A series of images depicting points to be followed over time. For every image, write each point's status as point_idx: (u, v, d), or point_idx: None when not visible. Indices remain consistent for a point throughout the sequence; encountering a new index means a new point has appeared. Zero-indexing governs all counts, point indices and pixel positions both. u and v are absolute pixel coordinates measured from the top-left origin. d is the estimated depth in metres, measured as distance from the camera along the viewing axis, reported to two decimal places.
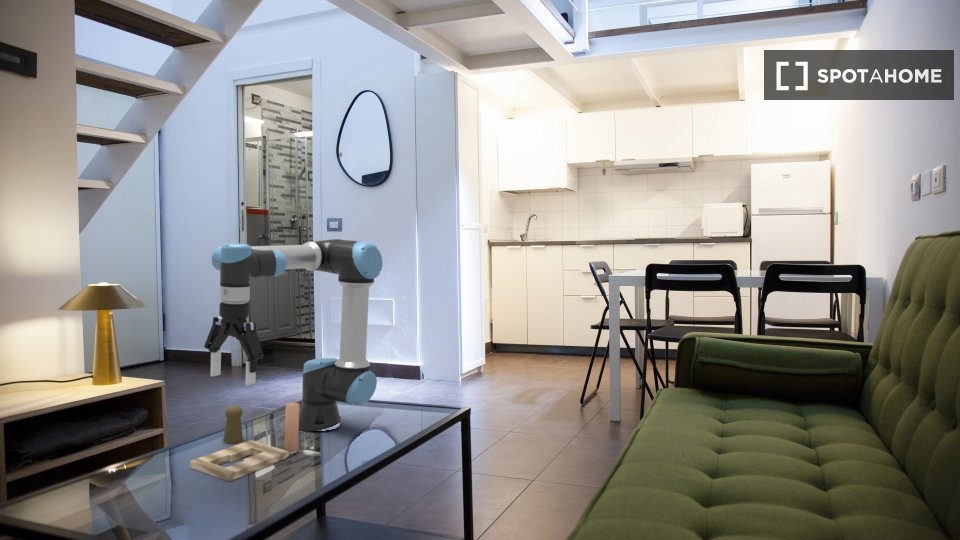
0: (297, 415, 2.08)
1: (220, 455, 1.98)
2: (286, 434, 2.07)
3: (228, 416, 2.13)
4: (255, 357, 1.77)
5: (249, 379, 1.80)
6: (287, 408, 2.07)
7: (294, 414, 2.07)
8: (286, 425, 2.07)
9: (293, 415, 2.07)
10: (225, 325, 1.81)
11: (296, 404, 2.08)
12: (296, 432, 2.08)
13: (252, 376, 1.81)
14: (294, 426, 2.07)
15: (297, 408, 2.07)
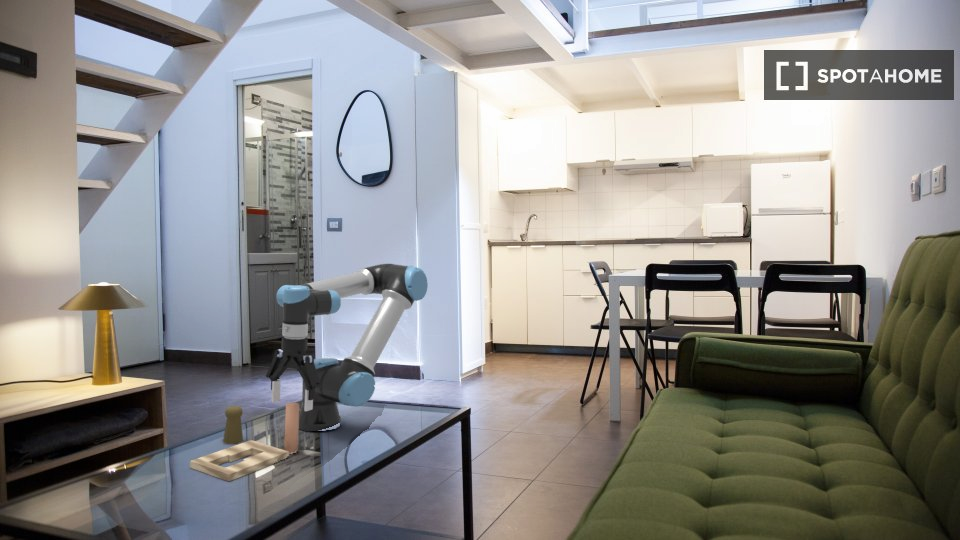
0: (297, 415, 2.08)
1: (220, 455, 1.98)
2: (286, 434, 2.07)
3: (228, 416, 2.13)
4: (314, 386, 2.01)
5: (307, 406, 2.04)
6: (287, 408, 2.07)
7: (294, 414, 2.07)
8: (286, 425, 2.07)
9: (293, 415, 2.07)
10: (286, 357, 2.05)
11: (296, 404, 2.08)
12: (296, 432, 2.08)
13: (310, 403, 2.04)
14: (294, 426, 2.07)
15: (297, 408, 2.07)
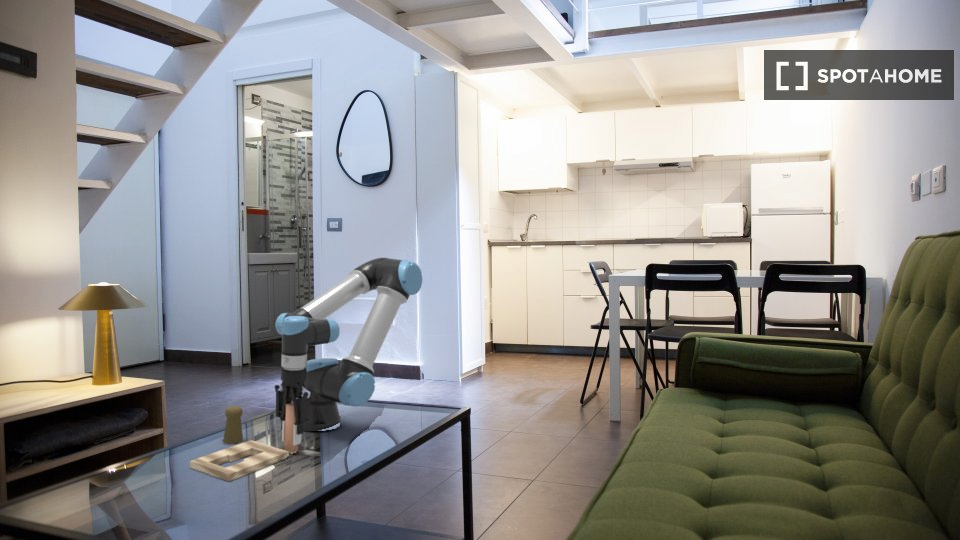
0: None
1: (220, 455, 1.98)
2: (286, 434, 2.07)
3: (228, 416, 2.13)
4: (302, 422, 2.05)
5: (296, 440, 2.07)
6: (287, 408, 2.07)
7: None
8: (286, 425, 2.07)
9: (293, 415, 2.07)
10: (285, 388, 2.06)
11: None
12: None
13: (298, 437, 2.08)
14: None
15: None
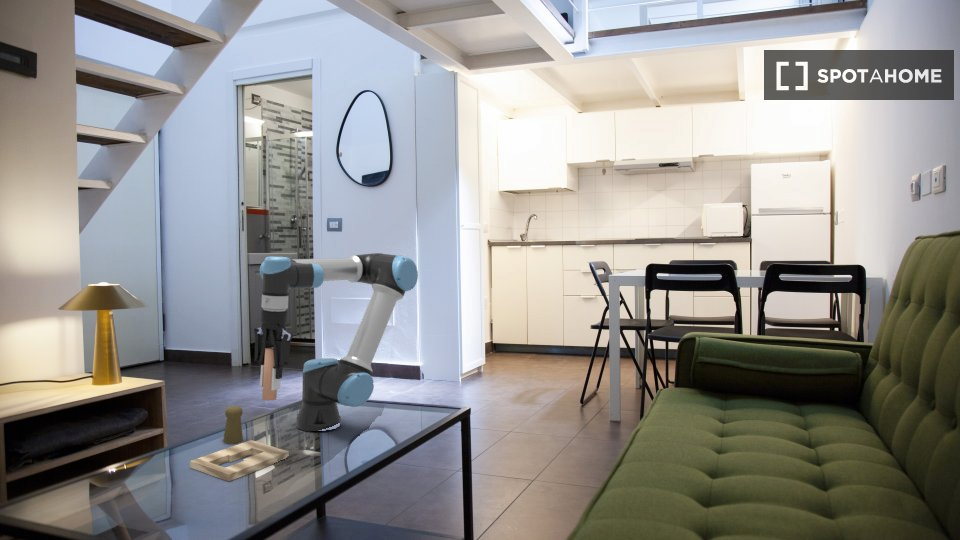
0: None
1: (220, 455, 1.98)
2: (264, 379, 2.00)
3: (228, 416, 2.13)
4: (281, 365, 1.98)
5: (275, 385, 2.00)
6: (266, 352, 1.99)
7: None
8: (265, 370, 2.00)
9: (273, 359, 1.99)
10: (265, 330, 1.99)
11: None
12: None
13: (277, 382, 2.00)
14: None
15: None
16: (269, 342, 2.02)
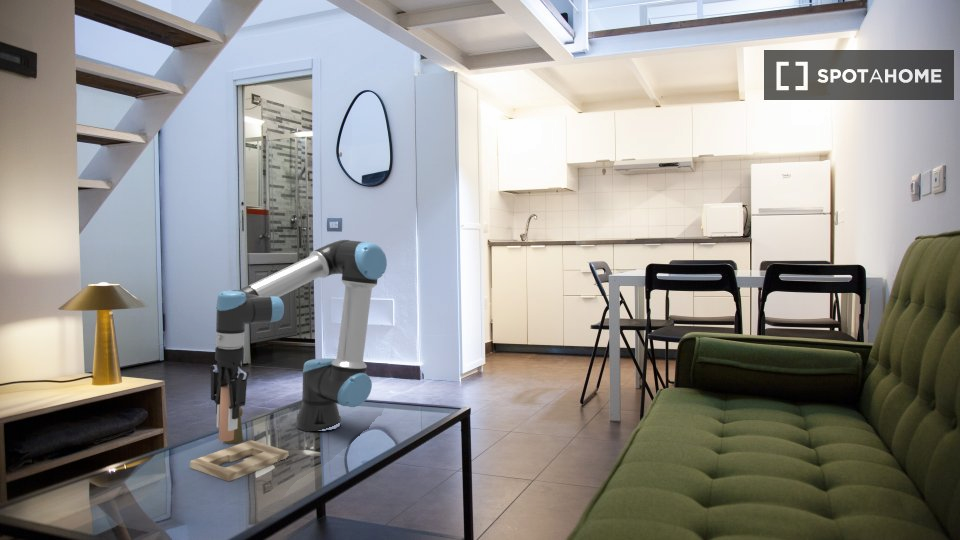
0: None
1: (220, 455, 1.98)
2: (220, 419, 1.91)
3: None
4: (237, 405, 1.89)
5: (231, 425, 1.91)
6: (222, 391, 1.91)
7: None
8: (221, 409, 1.91)
9: (229, 398, 1.91)
10: (220, 368, 1.91)
11: None
12: None
13: (234, 422, 1.92)
14: None
15: None
16: (225, 380, 1.93)
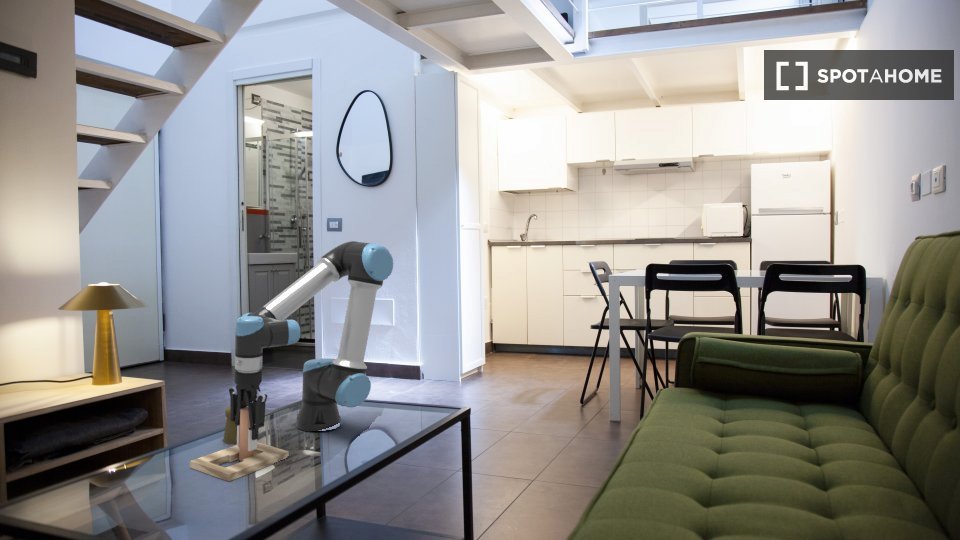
0: None
1: (220, 455, 1.98)
2: (240, 440, 1.98)
3: (228, 416, 2.13)
4: (256, 427, 1.96)
5: (251, 445, 1.98)
6: (241, 413, 1.98)
7: (249, 420, 1.98)
8: (240, 431, 1.98)
9: (248, 420, 1.98)
10: (240, 391, 1.97)
11: None
12: None
13: (254, 442, 1.99)
14: None
15: None
16: (244, 402, 2.00)
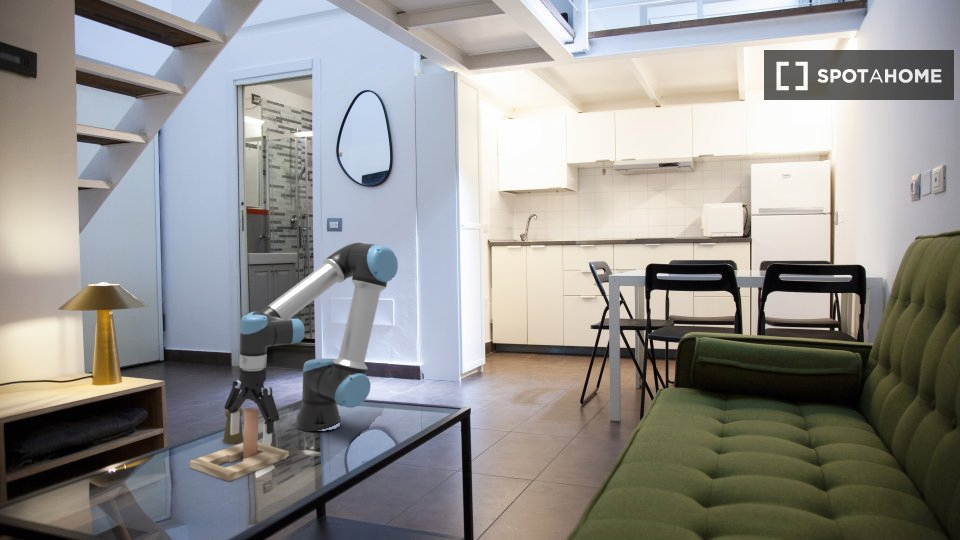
0: (256, 421, 2.00)
1: (220, 455, 1.98)
2: (244, 441, 2.00)
3: (228, 416, 2.13)
4: (272, 420, 1.95)
5: (266, 439, 1.97)
6: (245, 414, 1.99)
7: (253, 420, 1.99)
8: (244, 431, 2.00)
9: (252, 421, 1.99)
10: (244, 390, 1.99)
11: (255, 409, 2.01)
12: (255, 439, 2.00)
13: (269, 436, 1.98)
14: (253, 432, 2.00)
15: (256, 414, 2.00)
16: (244, 397, 2.02)
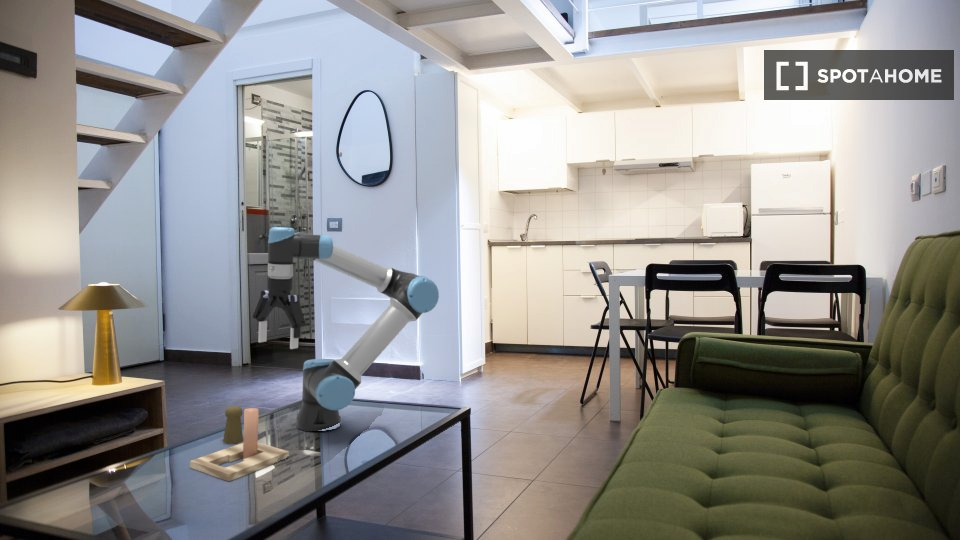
0: (256, 421, 2.00)
1: (220, 455, 1.98)
2: (244, 441, 2.00)
3: (228, 416, 2.13)
4: (299, 324, 2.06)
5: (293, 344, 2.08)
6: (245, 414, 1.99)
7: (253, 420, 1.99)
8: (244, 431, 2.00)
9: (252, 421, 1.99)
10: (272, 297, 2.10)
11: (255, 409, 2.01)
12: (255, 439, 2.00)
13: (295, 341, 2.09)
14: (253, 432, 1.99)
15: (256, 414, 2.00)
16: (272, 306, 2.13)
